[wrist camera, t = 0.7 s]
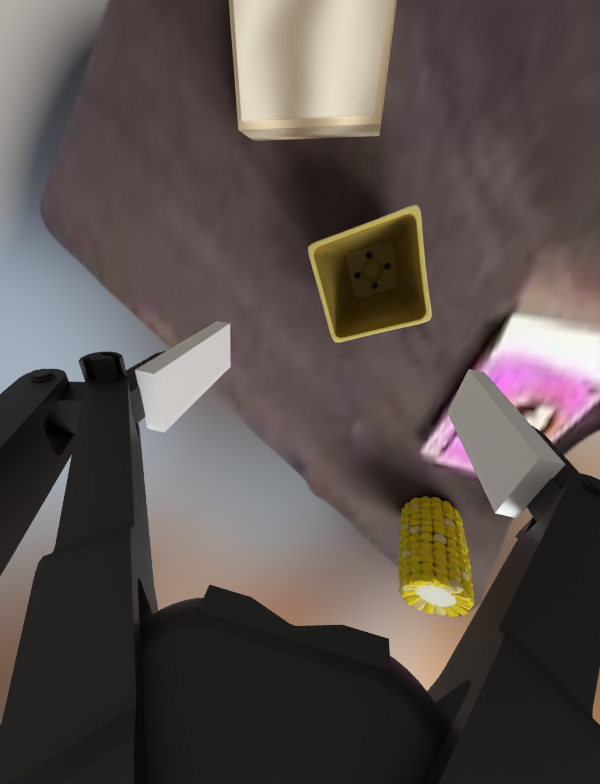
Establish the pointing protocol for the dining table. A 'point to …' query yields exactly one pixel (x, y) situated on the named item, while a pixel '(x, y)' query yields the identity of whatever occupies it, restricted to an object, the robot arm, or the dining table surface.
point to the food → (434, 558)
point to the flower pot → (373, 276)
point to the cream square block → (310, 66)
